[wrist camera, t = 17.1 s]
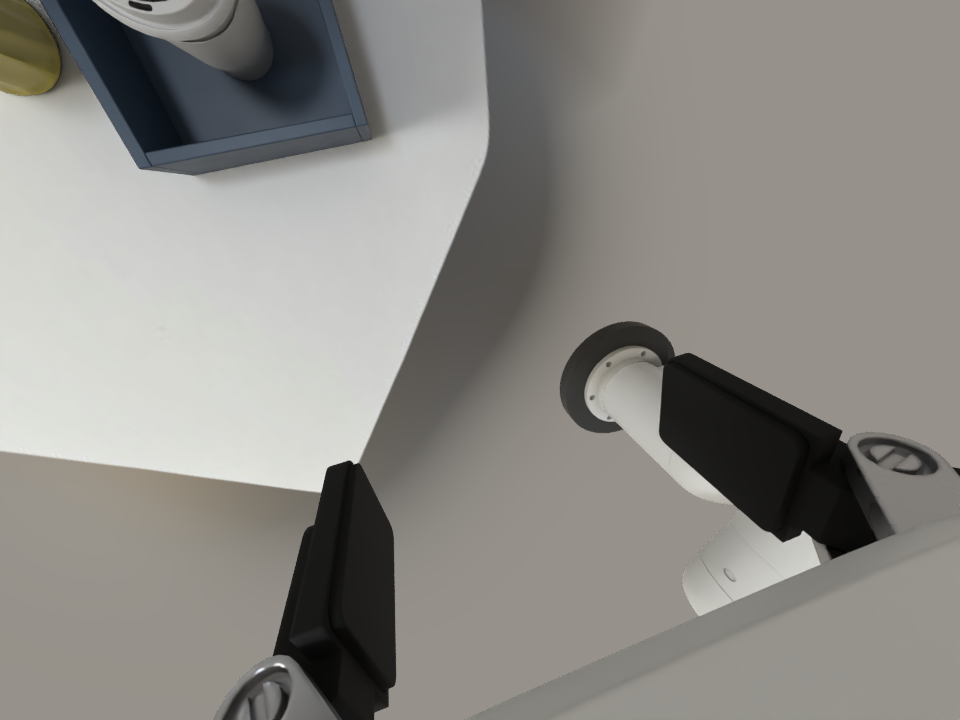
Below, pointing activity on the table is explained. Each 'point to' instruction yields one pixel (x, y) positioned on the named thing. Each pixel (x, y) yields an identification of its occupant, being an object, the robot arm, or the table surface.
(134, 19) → the cup
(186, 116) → the bin
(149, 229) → the table surface
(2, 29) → the vase
